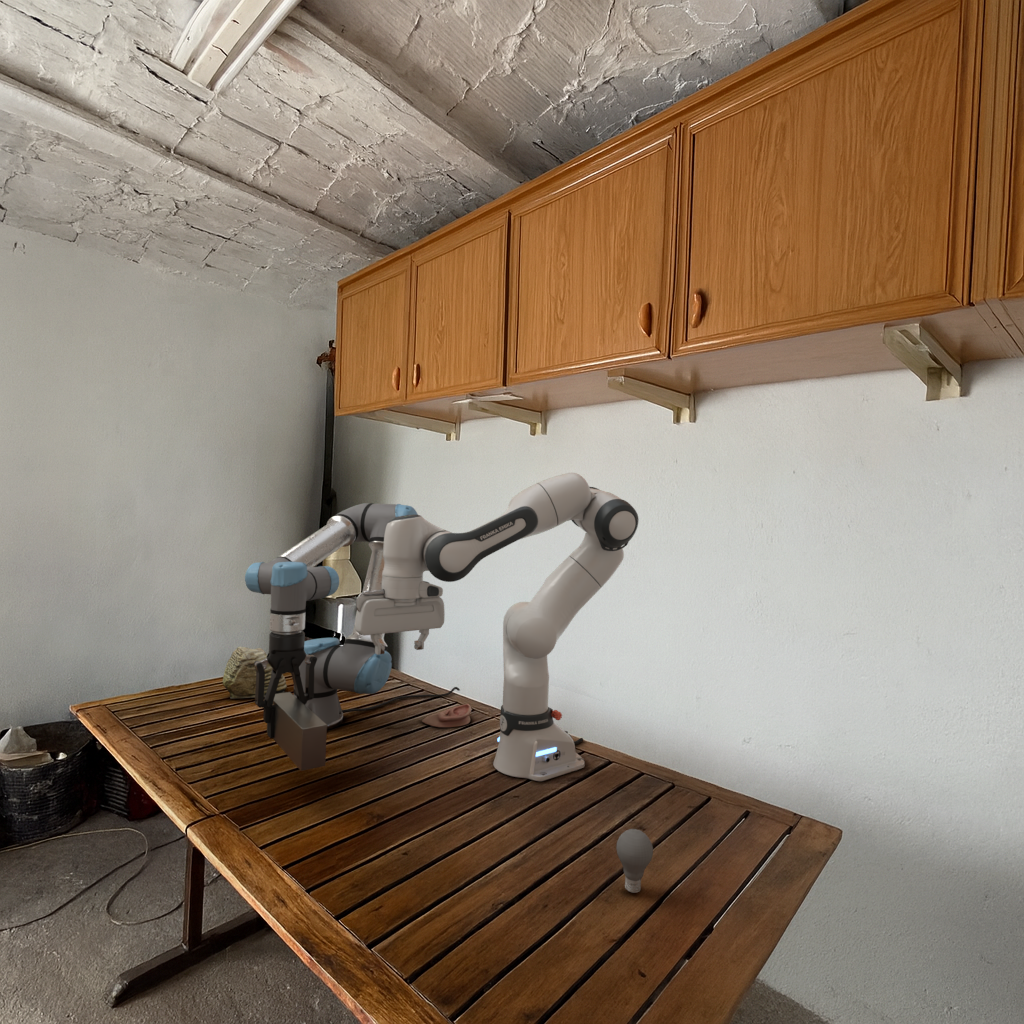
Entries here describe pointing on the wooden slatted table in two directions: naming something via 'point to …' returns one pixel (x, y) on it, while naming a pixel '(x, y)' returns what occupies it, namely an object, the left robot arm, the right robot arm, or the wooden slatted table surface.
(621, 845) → the light bulb
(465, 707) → the anatomical model
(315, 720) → the bar
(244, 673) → the fossil
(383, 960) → the wooden slatted table surface
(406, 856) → the wooden slatted table surface
